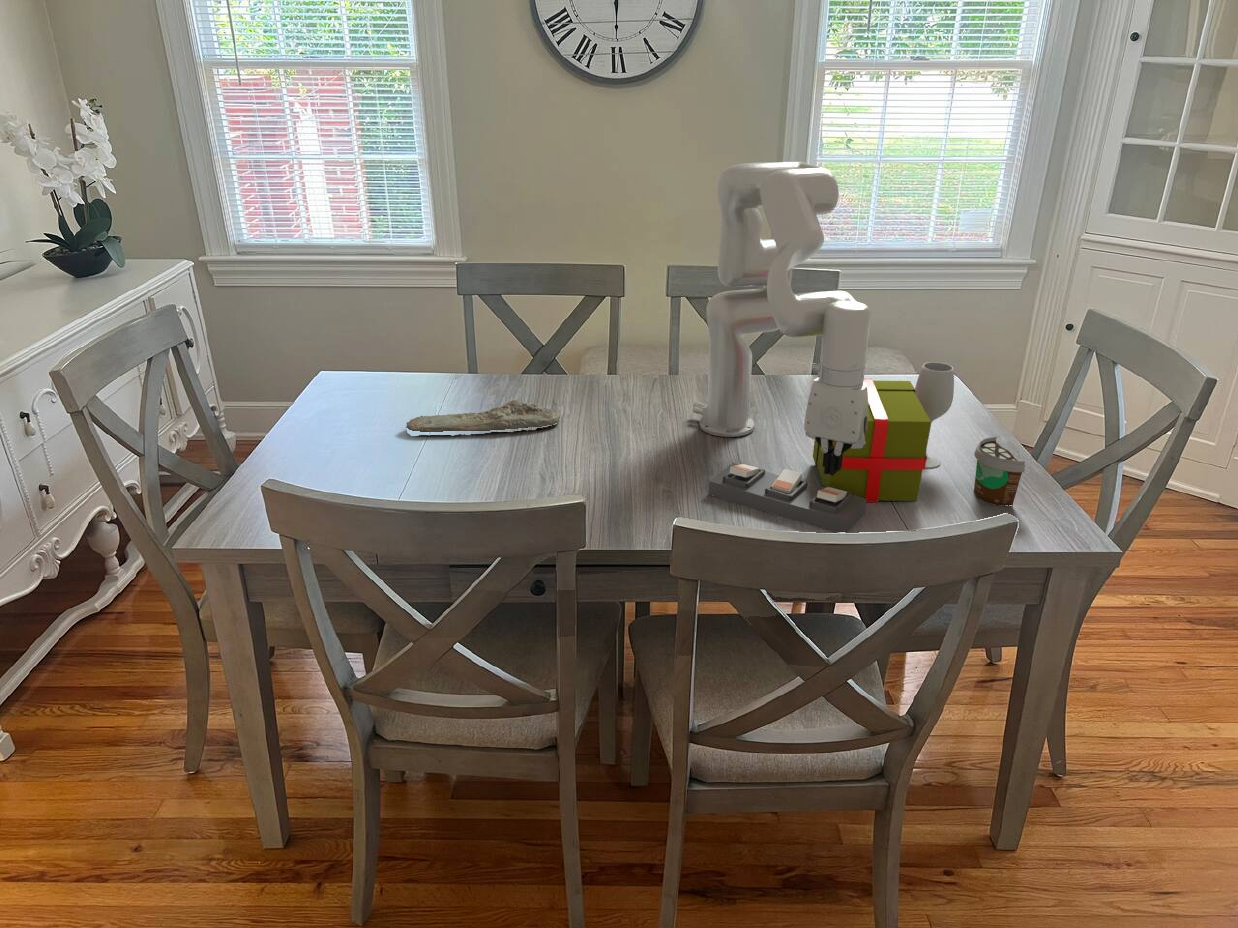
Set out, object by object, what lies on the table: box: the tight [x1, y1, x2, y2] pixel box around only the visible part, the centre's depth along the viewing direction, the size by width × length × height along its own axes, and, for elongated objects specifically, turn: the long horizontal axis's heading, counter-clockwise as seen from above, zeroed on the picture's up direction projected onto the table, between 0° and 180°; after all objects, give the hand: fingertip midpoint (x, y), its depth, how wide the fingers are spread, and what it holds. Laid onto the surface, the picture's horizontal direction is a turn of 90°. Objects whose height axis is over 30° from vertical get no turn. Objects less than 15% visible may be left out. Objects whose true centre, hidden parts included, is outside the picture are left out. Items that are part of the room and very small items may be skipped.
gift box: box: [812, 378, 932, 503], centre depth 176 cm, size 21×21×25 cm
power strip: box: [708, 462, 867, 533], centre depth 169 cm, size 28×10×4 cm, turn 56°
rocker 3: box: [817, 487, 847, 502], centre depth 163 cm, size 4×6×1 cm, turn 146°
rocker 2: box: [772, 468, 803, 494], centre depth 167 cm, size 4×6×1 cm, turn 146°
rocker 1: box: [729, 463, 760, 477], centre depth 172 cm, size 4×6×1 cm, turn 146°
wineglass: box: [914, 361, 955, 469], centre depth 182 cm, size 8×8×21 cm
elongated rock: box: [405, 399, 560, 432], centre depth 203 cm, size 35×5×10 cm
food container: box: [973, 436, 1026, 507], centre depth 170 cm, size 12×6×10 cm, turn 5°
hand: (831, 471), depth 158 cm, fingers closed
